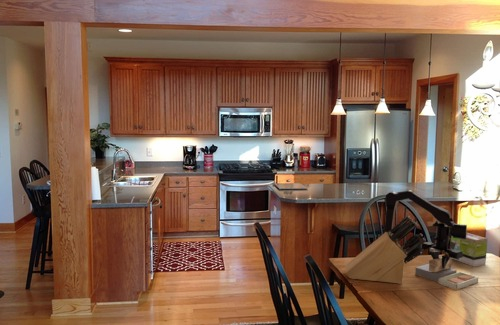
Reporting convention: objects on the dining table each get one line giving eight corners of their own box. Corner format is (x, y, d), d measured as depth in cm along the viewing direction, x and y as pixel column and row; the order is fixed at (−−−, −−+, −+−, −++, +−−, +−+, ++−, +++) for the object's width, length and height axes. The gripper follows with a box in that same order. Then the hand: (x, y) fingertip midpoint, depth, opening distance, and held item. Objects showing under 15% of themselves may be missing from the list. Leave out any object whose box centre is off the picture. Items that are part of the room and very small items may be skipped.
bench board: (439, 282, 196) (439, 275, 196) (415, 274, 207) (415, 267, 207) (456, 277, 204) (456, 270, 204) (431, 269, 215) (432, 262, 214)
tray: (456, 290, 187) (456, 284, 187) (438, 283, 195) (438, 278, 194) (477, 282, 197) (478, 277, 197) (459, 276, 205) (459, 271, 204)
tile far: (457, 276, 197) (457, 281, 197) (467, 278, 193) (467, 282, 193) (462, 274, 200) (463, 279, 200) (473, 276, 196) (473, 280, 196)
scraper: (434, 272, 198) (435, 262, 198) (428, 270, 201) (429, 260, 200) (451, 267, 206) (451, 257, 205) (445, 266, 208) (446, 256, 208)
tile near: (448, 279, 194) (448, 283, 194) (458, 283, 189) (458, 287, 189) (454, 277, 196) (454, 281, 196) (464, 281, 192) (464, 285, 192)
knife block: (424, 287, 190) (427, 220, 188) (345, 279, 198) (347, 215, 196) (420, 278, 201) (423, 215, 199) (345, 271, 209) (347, 210, 207)
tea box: (449, 258, 233) (450, 232, 232) (461, 256, 238) (463, 231, 236) (473, 267, 220) (475, 239, 218) (486, 264, 224) (488, 237, 223)
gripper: (470, 238, 198) (468, 270, 200) (434, 229, 214) (432, 259, 215) (457, 241, 192) (454, 274, 194) (421, 232, 208) (419, 262, 209)
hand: (440, 267), depth 203 cm, fingers closed on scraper, 3 cm apart
